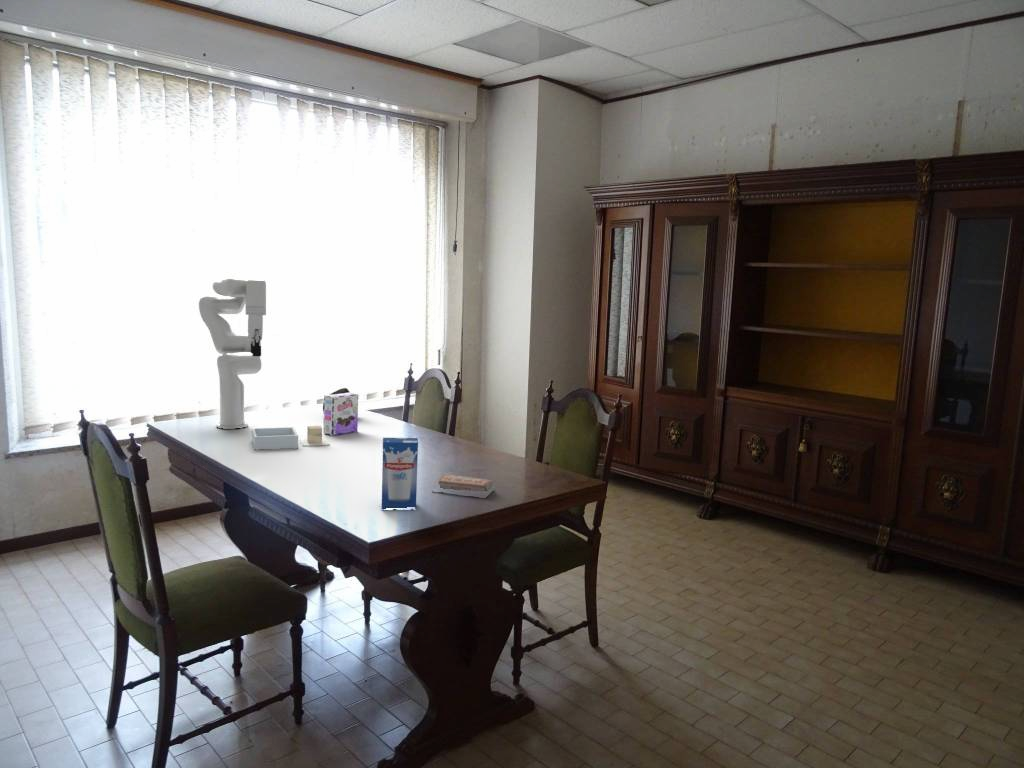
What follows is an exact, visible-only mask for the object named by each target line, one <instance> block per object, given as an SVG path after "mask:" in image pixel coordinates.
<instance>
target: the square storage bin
mask: <svg viewBox="0 0 1024 768" xmlns="http://www.w3.org/2000/svg"><path fill="white" fill-rule="evenodd" d="M251 443H252V445H254V446H253V449H254V450H255V449H256V450H255V451H258V450H257V449H272V450H281V449H280V448H294V449H299V434H298V432H297V431H296V429H295V427H293V426H289V427H288V426H287V427H259V428H255V427H254V428H251Z"/></svg>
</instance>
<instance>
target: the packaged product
mask: <svg viewBox="0 0 1024 768" xmlns="http://www.w3.org/2000/svg"><path fill="white" fill-rule="evenodd" d="M438 484H439V485H440V488H443V489H454V490H469V491H471V490H472V491H488V490H489V489H491V487H493V486H492V485H493V481H492V479H488V478H478V477H471V476H464V475H463V476H462V475H455V474H454V475H453V474H448V473H446V474H444V473H443V474H442V475H441V477H440V478H439V479H438Z"/></svg>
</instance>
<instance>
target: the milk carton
mask: <svg viewBox="0 0 1024 768" xmlns="http://www.w3.org/2000/svg"><path fill="white" fill-rule="evenodd" d="M418 449H419V439H418V437H383V438H382V470H381V471H382V473H381V474H382V476H381V479H382V481H381V482H382V483H381V510H382V509H386V508H407V507H416V508H417V488H418V487H417V486H418V484H417V482H418V459H419V458H418V455H419V450H418Z"/></svg>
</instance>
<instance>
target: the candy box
mask: <svg viewBox="0 0 1024 768" xmlns="http://www.w3.org/2000/svg"><path fill="white" fill-rule="evenodd" d="M323 399H324V400H323V403H324V412H323V430H322V434H324V435H327V436H332V437H333V436H339V435H345V434H346V435H347V434H352V433H356V432H358V421H359V420H358V415H359V414H358V413H359V394H358V393H354V392H353V393H352V392H350V393H343V394H334V395H330V394H326V395H324V397H323ZM351 432H352V433H351Z"/></svg>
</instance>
